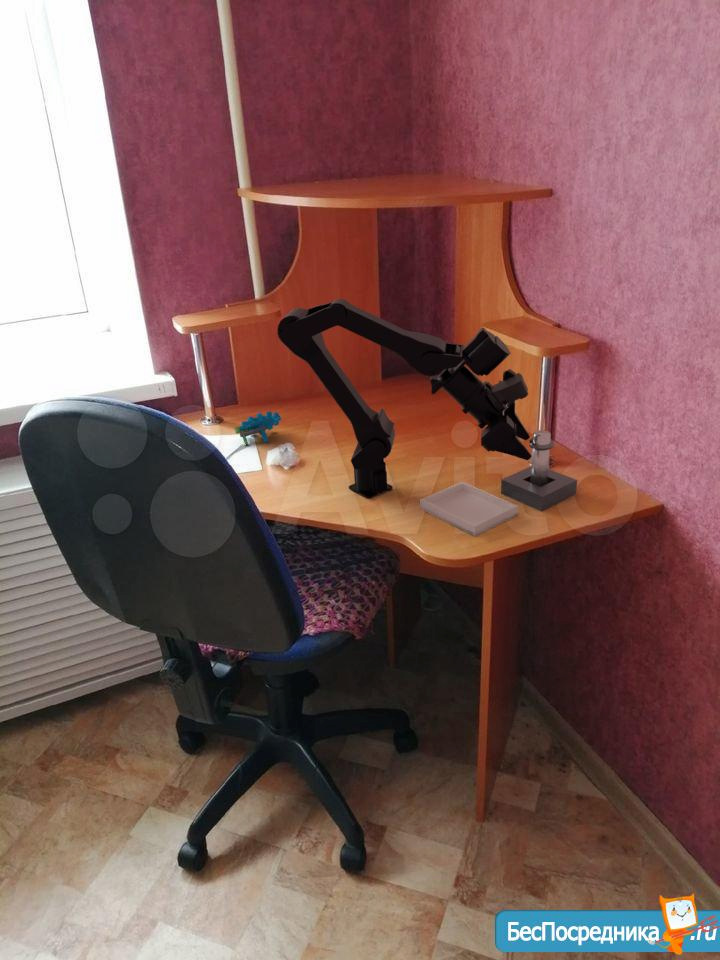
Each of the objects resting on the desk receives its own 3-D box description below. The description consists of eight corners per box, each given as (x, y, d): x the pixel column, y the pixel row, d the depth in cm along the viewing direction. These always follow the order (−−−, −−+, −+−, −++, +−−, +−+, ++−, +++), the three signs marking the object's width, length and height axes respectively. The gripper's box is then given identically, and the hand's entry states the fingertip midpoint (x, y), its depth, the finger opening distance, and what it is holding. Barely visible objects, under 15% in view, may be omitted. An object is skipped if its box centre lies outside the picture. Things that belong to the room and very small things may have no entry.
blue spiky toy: (280, 422, 181) (279, 404, 171) (287, 443, 179) (286, 427, 170) (235, 435, 179) (231, 418, 170) (242, 457, 177) (239, 441, 168)
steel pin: (521, 493, 145) (524, 433, 139) (536, 486, 147) (540, 427, 142) (539, 501, 142) (543, 440, 136) (554, 494, 144) (559, 433, 138)
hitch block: (500, 493, 145) (501, 479, 144) (534, 477, 151) (535, 464, 149) (541, 511, 138) (542, 496, 137) (576, 494, 143) (577, 480, 142)
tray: (420, 508, 141) (420, 499, 140) (462, 490, 147) (462, 481, 146) (474, 536, 131) (474, 526, 130) (517, 515, 137) (517, 505, 136)
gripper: (501, 378, 126) (565, 440, 129) (502, 347, 142) (558, 402, 145) (454, 421, 131) (517, 480, 134) (460, 386, 147) (516, 439, 150)
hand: (529, 448), depth 141 cm, fingers open, 9 cm apart
